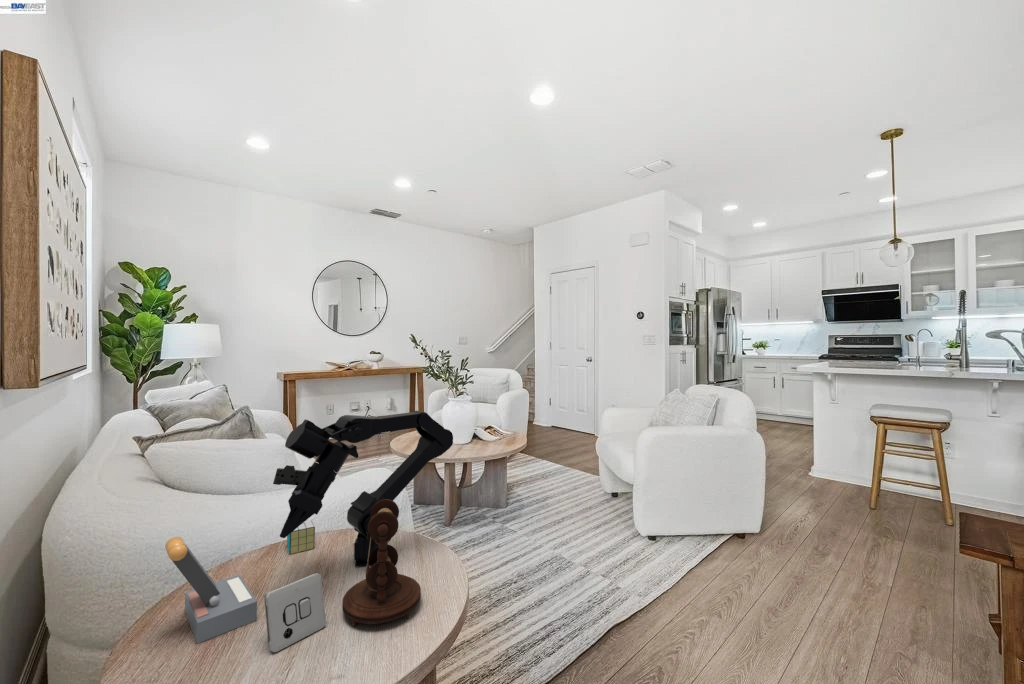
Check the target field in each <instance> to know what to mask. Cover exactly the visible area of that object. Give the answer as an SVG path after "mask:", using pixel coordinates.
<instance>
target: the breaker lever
mask: <svg viewBox="0 0 1024 684" xmlns="http://www.w3.org/2000/svg"><path fill="white" fill-rule="evenodd" d="M164 549H165V551H166V553H167V556H168V559H169V560H170V561H172V563H173V564H174V566H175V567H176V568H177V569H178V570H179V572H180V574H182V575H183V577H184V578H185V580H186V581H187V582H188V583H189V585H190V586H191V588H192V589H194V590H195V591H196V592H197V594H198V595H199V596H200V597H201V599H202V600H203V601H204V603H205V604H207V603H208V602H209V603H210V605H211V606H215V605H217V604H218V602H219V598H218V596H217V595H219V594H220V592H219V591H218V589H217V587H216V585H215V583H214V580H213V579H212V577H211V576H210V575H209V574H208V572H207V571H206V569H205V568H204V567H203V566H202V564H201V562H200V561H199V560H198V559H197V558H196V556H195V555H194V553H193V552H192V551H191V549H190V548H189V547H188V545H187V543H185V541H184V539H183V538H182V537H180V536H172V537H170V538H169V539H168V540H167V541H166V542H165V547H164Z"/></svg>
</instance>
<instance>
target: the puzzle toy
mask: <svg viewBox="0 0 1024 684" xmlns="http://www.w3.org/2000/svg"><path fill="white" fill-rule="evenodd" d="M315 540H316V526H315V524H314V523H313V521H312V519H307V520H306V521H305V522H303V523H302V524H301V525H300V526H299V527H297V528H296V529H295V530H294V531H293V532H291V533H290V534H289V535H288V536H287V537H286V547H287V550H288V554H289V555H294V554H297V552H298V553H301V551H302V552H305V550H307V551H310V550H309V549H311V550H314V549H315V544H316V541H315ZM293 553H294V554H293Z"/></svg>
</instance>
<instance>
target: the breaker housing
mask: <svg viewBox="0 0 1024 684" xmlns="http://www.w3.org/2000/svg"><path fill="white" fill-rule="evenodd" d="M213 582H214V581H213ZM214 583H215V585H216V587H217V589H218V591H219V592H220V594H219V595H217V596H218V598H219V602H218V604H217V605H215V606H211V605H210V603H209V602H208V603H207V604H205V603H204V601H203V600H202V599H201V597H200V596H199V595H198V594H197V592H196V591H195V590H194V588H192V589H189V590H185V592H184V611H185V612H184V613H185V615H186V618H187V620H188V623H189V626H190V628H191V631H192V634H193V636H194V639H195V643H196V644H200V643H202V642H206V641H207V640H210V639H212V638H216V637H218V636H220V635H222V634H224V633H225V634H226V633H229V632H231V631H232V630H235V629H238V628H241V627H242V626H245V625H248V624H251V623H253V622H256V621H257V619H258V617H257V616H258V601H257V599H256V597H255V596H254V594H253V593H252V591H251V589H249V587H248V585H247V584H246V582H245V581H244V579H243V578H242V576H241V575H240V574H236V575H233V576H229V577H227V578H224V579H220V580H218V581H215V582H214Z"/></svg>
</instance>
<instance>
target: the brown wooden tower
mask: <svg viewBox="0 0 1024 684" xmlns="http://www.w3.org/2000/svg"><path fill="white" fill-rule="evenodd" d="M399 515H400V509H399V506H398V504H397V503H396V502H395V501H394V500H393V501H392V500H389V499H384V500H380V501H378V502H377V503H376V504H375V505H374V506H373V507H372V510H371V519H370V521H369V523H368V533H369V535H370V536H371V537H370V545H371V538H373V539H374V540H375V542H376V543H377V544H379V545H378V547H377V548H375V549H374V550H373V552H372V553H371V555H370V565H369V554H368V561H367V566H366V569H365V579H362V580H361V581H359V582H357V583H355V584H353V586H351V587H350V588H349V589H348V590H347V591H346V592H345V594H344V596H343V598H342V604H341V605H342V607H341V608H342V613H343V614H344V615H345V617H346V618H348V619H349V620H350V621H351V624H352V626H353V627H356V626H357V623H359V624H363V625H374V624H375V625H376V624H377V625H378V624H384V623H388V622H392V621H396V620H398V619H400V618H402V617H404V618H405V620H408V619H409V618H410V614H411V612H412V611H413V610H414V609H415V608H416V607H417V606H418V604H419V603H420V600H421V595H422V591H421V590H422V589H421V585H420V583H419V582H418V581H417V580H416V579H414V578H412V577H410V576H407V575H405V574H401V573H399V571H398V568H397V564H398V560H399V553H398V551H397V549H396V548H395V547H394V546H393V545H391V544H389V542H391V540H392V538H393V537H395V536H396V535H397V533H398V530H399V519H398V518H399ZM370 545H369V553H370Z"/></svg>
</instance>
